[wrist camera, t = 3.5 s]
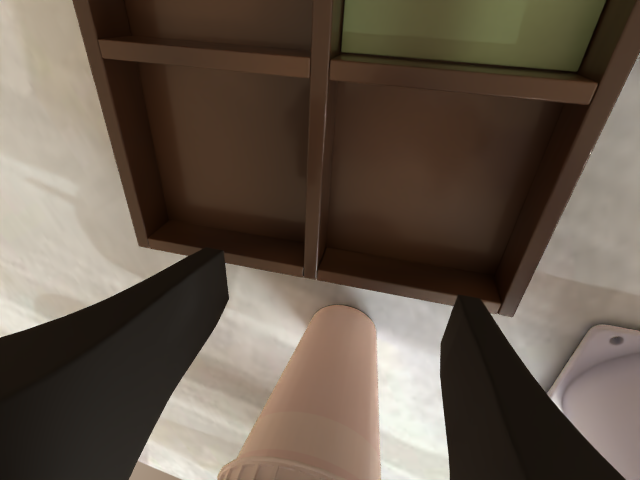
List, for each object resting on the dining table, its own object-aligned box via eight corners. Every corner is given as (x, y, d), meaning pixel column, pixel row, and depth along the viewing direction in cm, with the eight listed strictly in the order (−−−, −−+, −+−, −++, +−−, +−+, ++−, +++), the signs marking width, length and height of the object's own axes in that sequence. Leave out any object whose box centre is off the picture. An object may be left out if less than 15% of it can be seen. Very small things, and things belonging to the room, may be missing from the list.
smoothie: (420, 358, 20) (421, 832, 8) (322, 376, 23) (223, 751, 11) (369, 270, 18) (274, 762, 6) (267, 302, 20) (69, 681, 9)
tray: (777, -371, 7) (912, -514, 5) (501, 280, 16) (513, 317, 14) (57, -305, 10) (-33, -384, 8) (167, 222, 19) (138, 246, 17)
